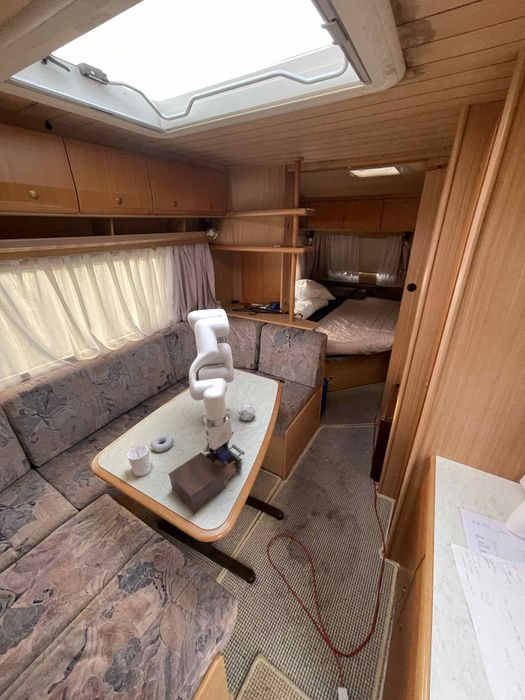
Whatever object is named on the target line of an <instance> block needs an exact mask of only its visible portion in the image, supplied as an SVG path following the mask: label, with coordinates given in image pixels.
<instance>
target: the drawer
mask: <svg viewBox="0 0 525 700" xmlns="http://www.w3.org/2000/svg"><path fill="white" fill-rule="evenodd" d="M228 450H229V451H230V452H231V458H229V459H228V460H227V461H225V462H224V463H221V462H220V461H219V460H218V461H217V460H216V459H214V458H213V457H212V454H211V453H210V452H206V454H204V455H205V456H206V457H207V458H209V459H210V460H211V461H212V462H213V463H214V464H216V465H217V466H218V467H219V468H220V469H221V470H223V471H224V479H225V482H227V481H228V480H229V479H231V478H232V477H233V476H234V475H236V473H237V472H238V473H241V472H242V471H243V469H242V468H243V467H242V466H243V465H242V458H241V456H243V455H245V451H244V450H242V449H241V448H240V447H238V446H237V445H236V444H235V443H233V444H231V446H230V447H228ZM232 450H235V451H237V452H238V453H239V454H236V453H234V452H233V451H232ZM236 471H237V472H236Z"/></svg>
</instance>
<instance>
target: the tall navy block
mask: <svg viewBox="0 0 525 700" xmlns="http://www.w3.org/2000/svg"><path fill="white" fill-rule="evenodd" d="M228 449H229V448H228ZM228 449H226V448H225V447H224V446H220V447H218V448H217V452H218V459H219V461H220V462H221V463H226V461H227V460H228V459H229V458H231V452H230V451H231V450H230V451H229V450H228ZM210 453H211V452H210ZM211 454H212V453H211Z"/></svg>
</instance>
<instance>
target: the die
mask: <svg viewBox="0 0 525 700" xmlns="http://www.w3.org/2000/svg"><path fill="white" fill-rule="evenodd" d="M255 413H256V410H255V408H254V407H253V404H249V403H242V404H241V405H240V407H239V410H238V411H237V415H238V416H239V418H240V420H242V421H252V420H253V417H254V415H255Z"/></svg>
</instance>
